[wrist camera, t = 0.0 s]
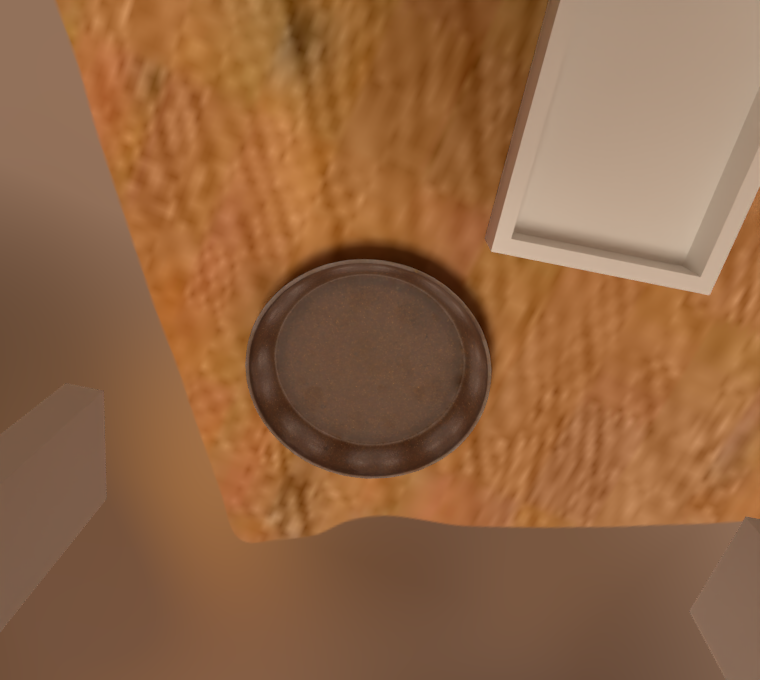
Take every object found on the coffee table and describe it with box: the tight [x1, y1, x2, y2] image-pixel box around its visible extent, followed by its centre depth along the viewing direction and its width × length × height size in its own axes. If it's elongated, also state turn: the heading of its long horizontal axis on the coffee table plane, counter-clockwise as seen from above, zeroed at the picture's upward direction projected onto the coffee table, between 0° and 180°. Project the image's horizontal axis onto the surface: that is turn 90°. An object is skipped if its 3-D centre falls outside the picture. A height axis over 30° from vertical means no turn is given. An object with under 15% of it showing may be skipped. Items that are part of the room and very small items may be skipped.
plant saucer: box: [246, 259, 491, 478], centre depth 40 cm, size 18×18×3 cm
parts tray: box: [485, 0, 760, 295], centre depth 32 cm, size 18×14×4 cm
